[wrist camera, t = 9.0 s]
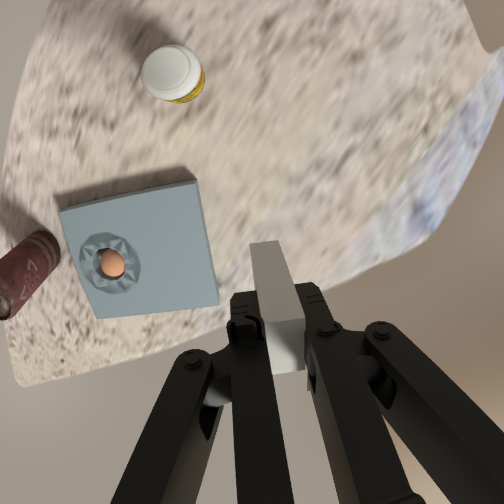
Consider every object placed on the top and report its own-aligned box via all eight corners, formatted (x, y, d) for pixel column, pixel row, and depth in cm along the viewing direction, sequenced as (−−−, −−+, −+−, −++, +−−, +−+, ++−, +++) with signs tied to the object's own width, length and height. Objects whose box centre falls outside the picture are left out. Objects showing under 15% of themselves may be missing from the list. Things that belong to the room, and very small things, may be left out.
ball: (101, 246, 38) (93, 257, 35) (125, 242, 39) (120, 253, 36) (107, 270, 40) (101, 283, 37) (131, 266, 40) (127, 279, 37)
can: (45, 220, 36) (-13, 265, 24) (69, 257, 39) (21, 313, 26) (21, 239, 37) (-33, 287, 24) (44, 274, 40) (-3, 329, 27)
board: (66, 207, 36) (58, 212, 34) (197, 179, 36) (195, 183, 34) (101, 309, 43) (96, 319, 40) (219, 294, 43) (219, 305, 41)
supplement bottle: (183, 113, 33) (167, 111, 24) (148, 85, 31) (120, 75, 22) (216, 77, 32) (212, 62, 22) (180, 49, 30) (164, 26, 20)
